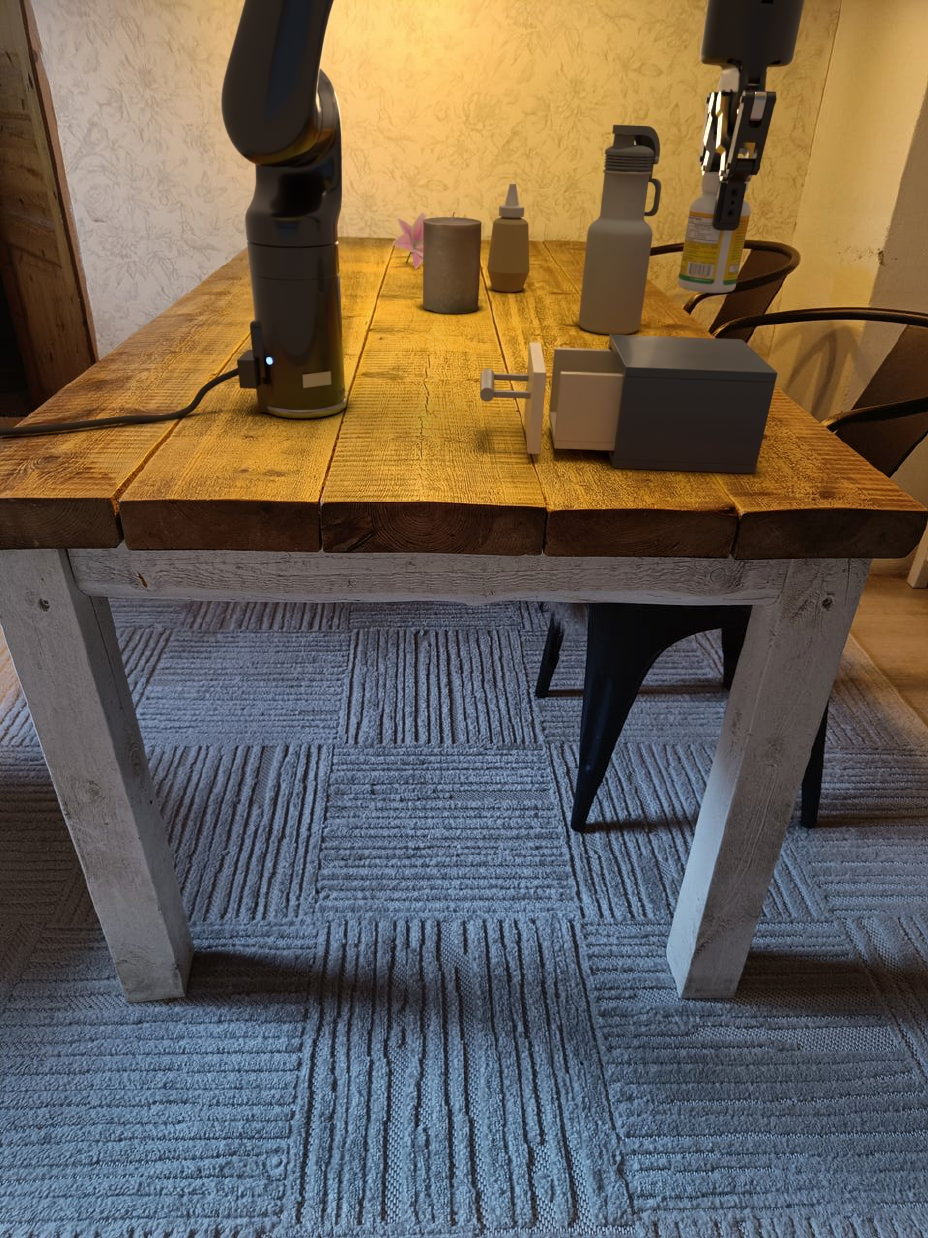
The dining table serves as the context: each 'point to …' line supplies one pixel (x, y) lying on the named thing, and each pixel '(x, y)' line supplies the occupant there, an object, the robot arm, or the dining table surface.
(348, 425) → the dining table surface
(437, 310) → the pillar candle
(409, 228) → the lily
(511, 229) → the squeeze bottle
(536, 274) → the dining table surface
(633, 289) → the water bottle
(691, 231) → the supplement bottle
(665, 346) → the cabinet
